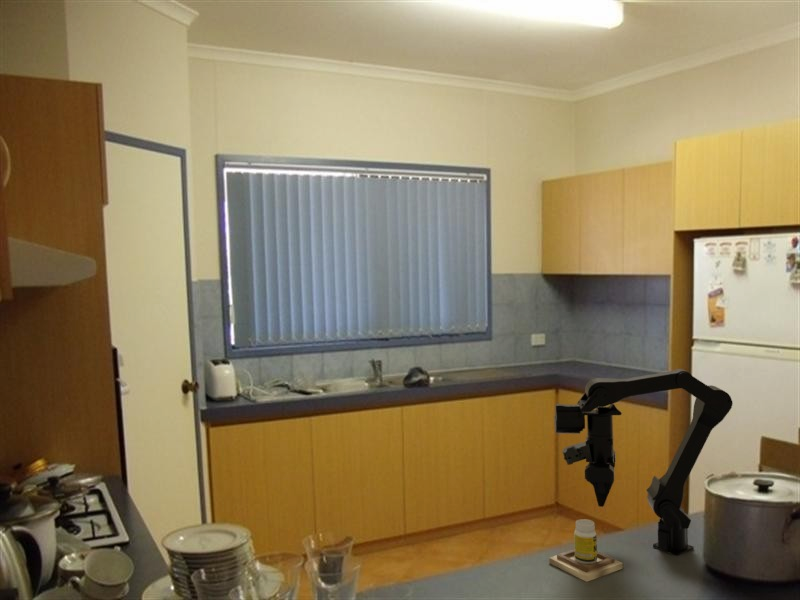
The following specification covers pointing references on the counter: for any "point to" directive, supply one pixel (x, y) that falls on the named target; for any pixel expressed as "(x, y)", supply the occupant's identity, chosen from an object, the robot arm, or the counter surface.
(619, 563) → the coaster board
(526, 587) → the counter surface
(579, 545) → the supplement bottle
